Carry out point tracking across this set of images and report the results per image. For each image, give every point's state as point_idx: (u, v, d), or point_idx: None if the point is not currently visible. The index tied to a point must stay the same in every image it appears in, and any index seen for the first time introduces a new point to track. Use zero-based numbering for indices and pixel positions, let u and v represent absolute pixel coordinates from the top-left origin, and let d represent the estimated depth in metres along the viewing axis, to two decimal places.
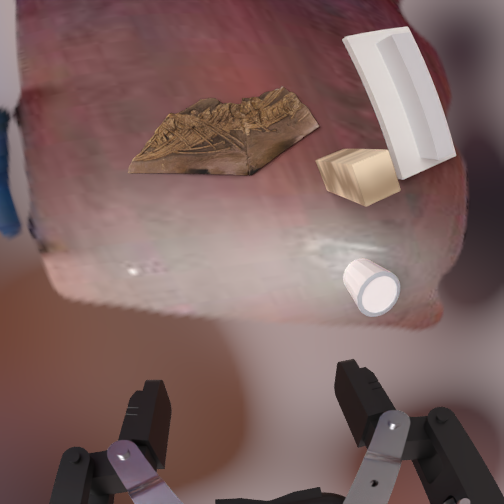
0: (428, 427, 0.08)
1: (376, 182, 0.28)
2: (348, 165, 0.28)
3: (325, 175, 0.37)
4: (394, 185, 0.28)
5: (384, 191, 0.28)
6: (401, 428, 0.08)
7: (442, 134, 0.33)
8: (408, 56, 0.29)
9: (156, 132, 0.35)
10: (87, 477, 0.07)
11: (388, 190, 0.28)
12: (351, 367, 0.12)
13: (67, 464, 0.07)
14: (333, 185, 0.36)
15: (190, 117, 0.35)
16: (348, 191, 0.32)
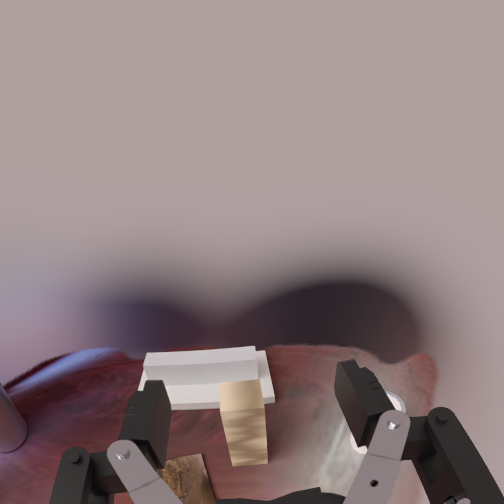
0: (428, 427, 0.08)
1: (244, 396, 0.30)
2: (222, 416, 0.28)
3: (247, 458, 0.31)
4: (253, 383, 0.31)
5: (255, 391, 0.30)
6: (401, 428, 0.08)
7: (236, 352, 0.46)
8: (164, 360, 0.45)
9: None
10: (86, 477, 0.07)
11: (255, 388, 0.31)
12: (351, 367, 0.12)
13: (67, 464, 0.07)
14: (256, 451, 0.30)
15: None
16: (255, 429, 0.29)
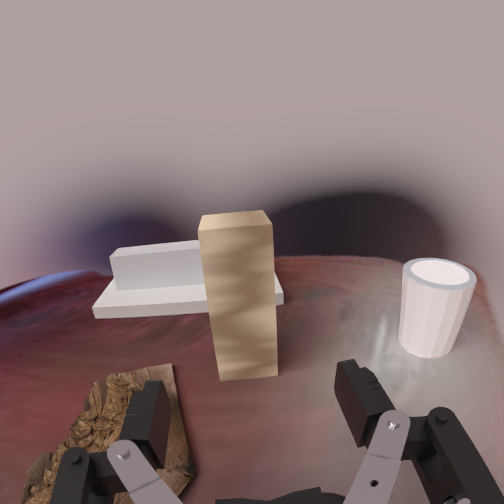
0: (428, 427, 0.08)
1: (239, 219, 0.20)
2: (202, 245, 0.18)
3: (244, 361, 0.22)
4: (252, 212, 0.22)
5: (256, 216, 0.21)
6: (401, 428, 0.08)
7: None
8: (138, 251, 0.35)
9: None
10: (87, 477, 0.07)
11: (257, 214, 0.21)
12: (351, 367, 0.12)
13: (67, 464, 0.07)
14: (258, 341, 0.21)
15: (35, 498, 0.09)
16: (258, 282, 0.20)
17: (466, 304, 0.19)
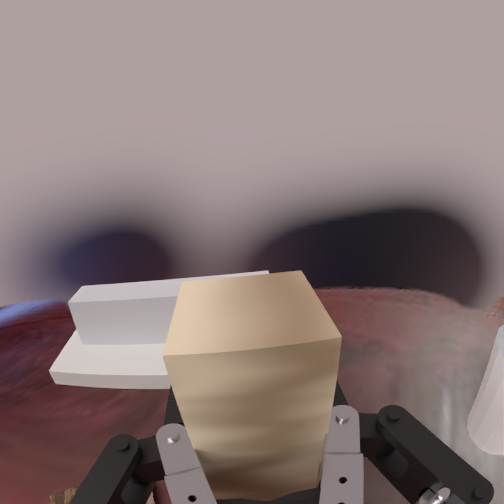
0: (381, 428, 0.09)
1: (260, 309, 0.09)
2: (175, 382, 0.07)
3: None
4: (283, 278, 0.11)
5: (294, 296, 0.10)
6: (348, 423, 0.09)
7: None
8: (105, 294, 0.24)
9: None
10: (129, 467, 0.07)
11: (295, 288, 0.10)
12: None
13: (112, 450, 0.08)
14: (286, 489, 0.10)
15: None
16: (296, 432, 0.08)
17: None
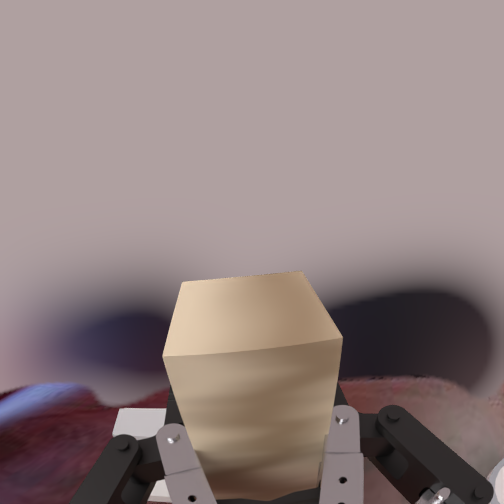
0: (381, 428, 0.09)
1: (260, 309, 0.09)
2: (176, 383, 0.07)
3: None
4: (284, 278, 0.11)
5: (295, 296, 0.10)
6: (348, 423, 0.09)
7: None
8: (148, 426, 0.23)
9: None
10: (129, 467, 0.07)
11: (295, 289, 0.10)
12: None
13: (113, 450, 0.08)
14: (287, 490, 0.10)
15: None
16: (297, 433, 0.08)
17: None
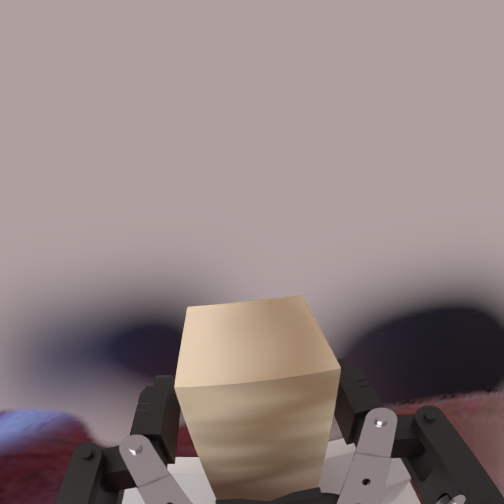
0: (416, 426, 0.08)
1: (264, 338, 0.09)
2: (186, 409, 0.08)
3: None
4: (285, 304, 0.11)
5: (296, 324, 0.10)
6: (388, 426, 0.08)
7: None
8: None
9: None
10: (97, 474, 0.07)
11: (296, 316, 0.10)
12: (340, 365, 0.12)
13: (78, 459, 0.07)
14: None
15: None
16: (297, 449, 0.09)
17: None
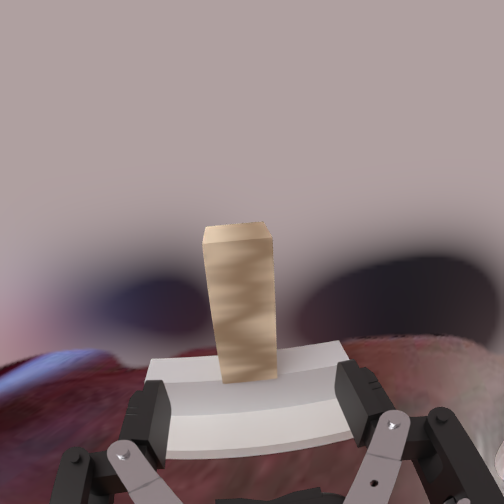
0: (428, 427, 0.08)
1: (241, 232, 0.21)
2: (206, 257, 0.20)
3: (246, 365, 0.23)
4: (254, 224, 0.23)
5: (257, 228, 0.22)
6: (401, 428, 0.08)
7: (311, 353, 0.26)
8: (184, 373, 0.25)
9: None
10: (87, 477, 0.07)
11: (258, 226, 0.22)
12: (351, 367, 0.12)
13: (67, 464, 0.07)
14: (259, 346, 0.22)
15: None
16: (258, 291, 0.21)
17: None
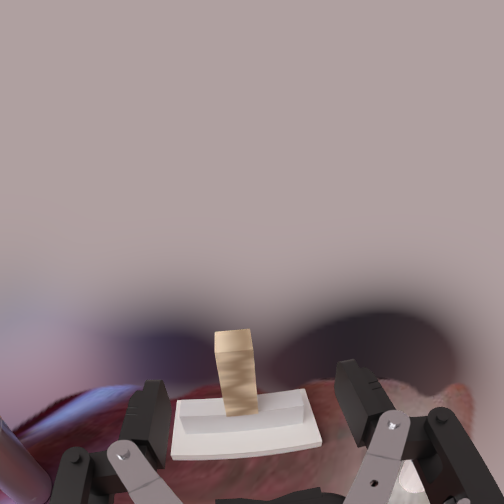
0: (428, 427, 0.08)
1: (236, 341, 0.36)
2: (217, 358, 0.34)
3: (239, 407, 0.37)
4: (243, 331, 0.38)
5: (245, 337, 0.37)
6: (401, 428, 0.08)
7: (280, 398, 0.41)
8: (203, 409, 0.39)
9: None
10: (86, 477, 0.07)
11: (246, 335, 0.37)
12: (351, 367, 0.12)
13: (67, 464, 0.07)
14: (247, 398, 0.37)
15: None
16: (246, 373, 0.35)
17: None
